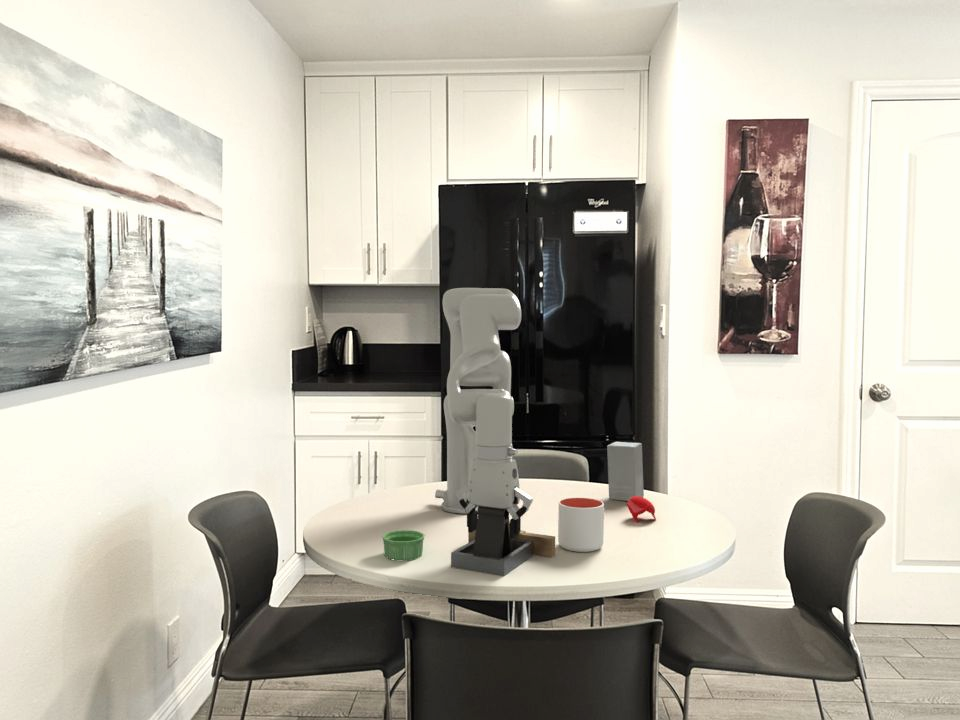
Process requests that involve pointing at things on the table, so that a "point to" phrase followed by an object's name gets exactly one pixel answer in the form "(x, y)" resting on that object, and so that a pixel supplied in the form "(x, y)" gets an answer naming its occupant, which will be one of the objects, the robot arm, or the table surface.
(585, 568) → the table surface
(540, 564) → the table surface
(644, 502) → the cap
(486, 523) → the phone stand
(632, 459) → the skincare box
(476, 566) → the frame
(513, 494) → the robot arm
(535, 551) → the door edge rail
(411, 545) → the ramekin
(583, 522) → the cup
